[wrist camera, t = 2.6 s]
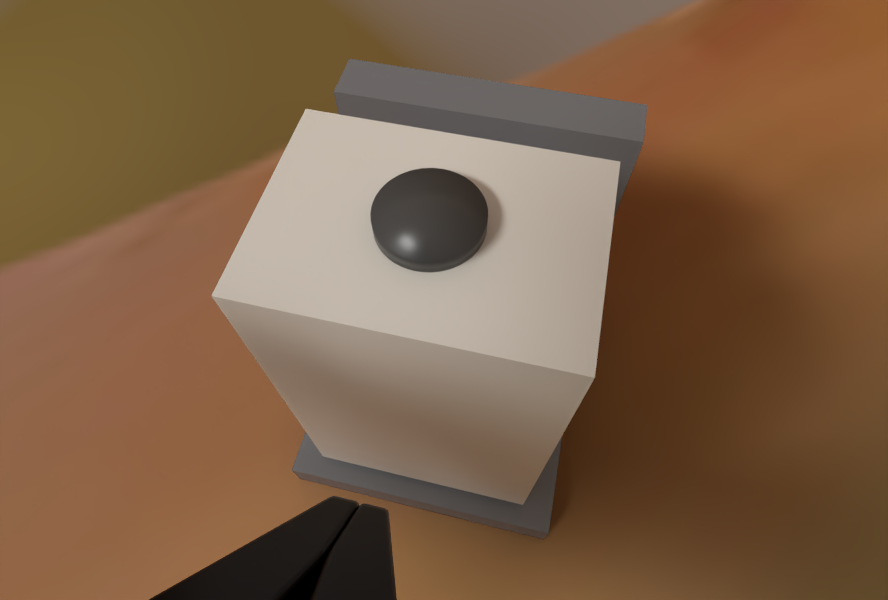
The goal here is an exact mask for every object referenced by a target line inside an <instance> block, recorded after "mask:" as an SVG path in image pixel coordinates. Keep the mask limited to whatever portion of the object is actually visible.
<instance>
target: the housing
mask: <svg viewBox="0 0 888 600" xmlns="http://www.w3.org/2000/svg"><path fill="white" fill-rule="evenodd" d="M334 95H335V100H336V104H337V109H338V114H339V115H345V116H351V117H357V118H363V119H369V120H375V121H381V122H387V123H393V124H399V125H405V126H411V127H417V128H423V129H429V130H435V131H441V132H447V133H453V134H459V135H465V136H471V137H477V138H483V139H489V140H495V141H500V142H506V143H512V144H518V145H524V146H530V147H536V148H542V149H548V150H554V151H560V152H566V153H572V154H578V155H584V156H590V157H596V158H602V159H608V160H614V161H620V169H619V178H618V186H617V195H616V203H615V212H614V216H615V214H616V211H617V209H618V206H619V203H620V201H621V198H622V196H623V193H624V191H625V188H626V186H627V183H628V181H629V178H630V176H631V173H632V171H633V168H634V165H635V163H636V160H637V158H638V155H639V153H640V150H641V148H642V145H643V143H644V134H645V123H646V112H647V105H644V104H637V103H631V102H625V101H618V100H612V99H605V98H599V97H592V96H586V95H579V94H573V93H567V92H560V91H554V90H547V89H541V88H534V87H528V86H521V85H515V84H508V83H502V82H496V81H488V80H483V79H476V78H470V77H463V76H457V75H450V74H443V73H437V72H431V71H424V70H418V69H412V68H405V67H399V66H392V65H386V64H380V63H373V62H367V61H360V60H354V59H349V61H348V63H347V65H346V67H345V70H344V71H343V74H342V76H341V78H340V80H339V82H338V84H337V86H336V88H335V90H334ZM561 441H562V437H561V439H560V440H559V442H558V444H557V446H556V447H555V449H554V451H553V453H552V455H551V456H550V458H549V460H548V462H547V463H546V465H545V467H544V469H543V470H542V472H541V474H540V476H539V478H538V479H537V481H536V483H535V485H534V486H533V488H532V490H531V492H530V493H529V495H528V497H527V499H526V501H525V502H524V504H523V505H521V504H517V503H513V502H509V501H505V500H500V499H496V498H492V497H488V496H484V495H480V494H476V493H472V492H468V491H463V490H459V489H455V488H451V487H447V486H443V485H439V484H435V483H430V482H426V481H422V480H418V479H414V478H410V477H406V476H402V475H398V474H393V473H389V472H385V471H381V470H377V469H373V468H369V467H365V466H361V465H356V464H352V463H348V462H344V461H340V460H336V459H332V458H328V457H323V456H322V454H321V453H320V451H319V450H318V448H317V447H316V446H315V444H314V443H313V441H312V440H311V438H310V437H309V436H308V434H307V433H305V435H304V438H303V441H302V444H301V446H300V449H299V452H298V455H297V457H296V460H295V463H294V466H293V468H292V471H293V472H294V473H295V474H296V475H297V476H298V477H299V478H300V479H304V480H308V481H312V482H316V483H320V484H324V485H328V486H332V487H336V488H340V489H344V490H348V491H352V492H356V493H360V494H364V495H368V496H372V497H376V498H380V499H384V500H388V501H392V502H396V503H400V504H404V505H408V506H412V507H416V508H420V509H424V510H428V511H432V512H436V513H440V514H444V515H448V516H452V517H456V518H460V519H464V520H468V521H472V522H476V523H480V524H484V525H488V526H492V527H496V528H500V529H504V530H509V531H513V532H517V533H521V534H525V535H529V536H533V537H537V538H541V539H544V538H545V537H546V536H547V535H548V534H549V527H550V520H551V513H552V506H553V498H554V491H555V484H556V477H557V470H558V463H559V456H560V449H561Z"/></svg>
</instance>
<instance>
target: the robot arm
mask: <svg viewBox="0 0 888 600" xmlns="http://www.w3.org/2000/svg"><path fill="white" fill-rule="evenodd" d="M149 600H397V599H396V588H395V577H394V566H393V555H392V544H391V533H390V522H389V513H388V510H386V509H385V508H381V507H377V506H373V505H369V504H361V505H360V506H359V503H358V502H356V501H353V500H349V499H345V498H341V497H337V496H332V497H329V498H327V499H326V500H324V501H322V502H320V503H319V504H317V505H315V506H313V507H312V508H310V509H308V510H306V511H304V512H303V513H301V514H299V515H297V516H296V517H294V518H292V519H290V520H289V521H287V522H285V523H283V524H282V525H280V526H278V527H276V528H274V529H273V530H271V531H269V532H267V533H266V534H264V535H262V536H260V537H259V538H257V539H255V540H253V541H251V542H250V543H248V544H246V545H244V546H243V547H241V548H239V549H237V550H236V551H234V552H232V553H230V554H229V555H227V556H225V557H223V558H221V559H220V560H218V561H216V562H214V563H213V564H211V565H209V566H207V567H206V568H204V569H202V570H200V571H198V572H197V573H195V574H193V575H191V576H190V577H188V578H186V579H184V580H183V581H181V582H179V583H177V584H176V585H174V586H172V587H170V588H168V589H167V590H165V591H163V592H161V593H160V594H158V595H156V596H154V597H153V598H151V599H149Z"/></svg>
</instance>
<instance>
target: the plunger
mask: <svg viewBox="0 0 888 600" xmlns="http://www.w3.org/2000/svg"><path fill="white" fill-rule="evenodd" d="M619 169H620V161H614V160H608V159H602V158H596V157H590V156H584V155H578V154H572V153H566V152H560V151H554V150H548V149H542V148H536V147H530V146H524V145H518V144H512V143H506V142H500V141H495V140H489V139H483V138H477V137H471V136H465V135H459V134H453V133H447V132H441V131H435V130H429V129H423V128H417V127H411V126H405V125H399V124H393V123H387V122H381V121H375V120H369V119H363V118H357V117H351V116H345V115H339V114H333V113H327V112H320V111H315V110H309V109H306V110H305V112H304V114H303V116H302V118H301V120H300V122H299V124H298V126H297V127H296V130H295V131H294V134H293V135H292V137H291V140H290V141H289V143H288V145H287V147H286V149H285V151H284V153H283V155H282V157H281V159H280V161H279V163H278V165H277V167H276V169H275V171H274V173H273V175H272V177H271V179H270V181H269V183H268V185H267V187H266V189H265V191H264V193H263V195H262V197H261V199H260V201H259V203H258V205H257V207H256V209H255V211H254V213H253V215H252V217H251V219H250V221H249V223H248V224H247V226H246V228H245V230H244V232H243V234H242V236H241V238H240V240H239V242H238V244H237V246H236V248H235V250H234V252H233V254H232V256H231V258H230V260H229V262H228V264H227V266H226V268H225V270H224V272H223V274H222V276H221V278H220V280H219V282H218V284H217V286H216V288H215V290H214V292H213V294H212V298H213V299H214V300H215V302H216V303H217V305H218V306H219V308H220V309H221V311H222V312H223V313H224V315H225V316H226V318H227V319H228V321H229V322H230V323H231V325H232V326H233V328H234V329H235V331H236V332H237V334H238V335H239V336H240V338H241V339H242V341H243V342H244V344H245V345H246V346H247V348H248V349H249V351H250V352H251V354H252V355H253V357H254V358H255V359H256V361H257V362H258V364H259V365H260V367H261V368H262V369H263V371H264V372H265V374H266V375H267V377H268V378H269V380H270V381H271V382H272V384H273V385H274V387H275V388H276V390H277V391H278V392H279V394H280V395H281V397H282V398H283V400H284V401H285V403H286V404H287V405H288V407H289V408H290V410H291V411H292V413H293V414H294V415H295V417H296V418H297V420H298V421H299V423H300V424H301V425H302V427H303V428H304V430H305V431H306V433H307V434H308V436H309V437H310V438H311V440H312V441H313V443H314V444H315V446H316V447H317V448H318V450H319V451H320V453H321V454H322V456H323V457H328V458H332V459H336V460H340V461H344V462H348V463H352V464H356V465H361V466H365V467H369V468H373V469H377V470H381V471H385V472H389V473H393V474H398V475H402V476H406V477H410V478H414V479H418V480H422V481H426V482H430V483H435V484H439V485H443V486H447V487H451V488H455V489H459V490H463V491H468V492H472V493H476V494H480V495H484V496H488V497H492V498H496V499H500V500H505V501H509V502H513V503H517V504H521V505H523V504H524V502H525V501H526V499H527V497H528V495H529V493H530V492H531V490H532V488H533V486H534V485H535V483H536V481H537V479H538V478H539V476H540V474H541V472H542V470H543V469H544V467H545V465H546V463H547V462H548V460H549V458H550V456H551V455H552V453H553V451H554V449H555V447H556V446H557V444H558V442H559V440H560V439H561V437H562V435H563V433H564V432H565V430H566V428H567V426H568V424H569V423H570V421H571V419H572V417H573V416H574V414H575V412H576V410H577V408H578V407H579V405H580V403H581V401H582V400H583V398H584V396H585V394H586V393H587V391H588V389H589V387H590V385H591V384H592V382H593V380H594V378H595V372H596V364H597V356H598V347H599V339H600V330H601V322H602V313H603V305H604V296H605V288H606V279H607V271H608V262H609V254H610V246H611V237H612V229H613V220H614V212H615V203H616V195H617V186H618V178H619Z"/></svg>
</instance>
